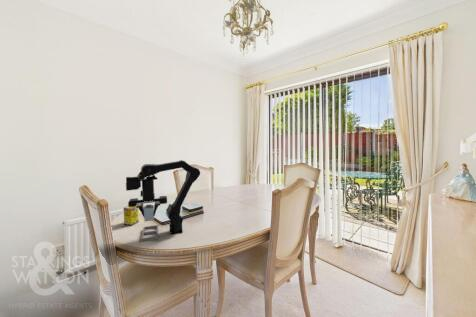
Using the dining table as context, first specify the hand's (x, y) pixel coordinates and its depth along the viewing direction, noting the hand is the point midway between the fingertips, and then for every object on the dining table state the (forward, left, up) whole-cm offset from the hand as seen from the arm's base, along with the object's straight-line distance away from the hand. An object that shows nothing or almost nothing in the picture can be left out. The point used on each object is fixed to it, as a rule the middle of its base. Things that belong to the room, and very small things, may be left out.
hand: (149, 216), depth 112 cm
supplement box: (+12, -23, -12) cm, 28 cm away
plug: (0, 0, -2) cm, 2 cm away
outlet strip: (0, -4, -11) cm, 12 cm away
